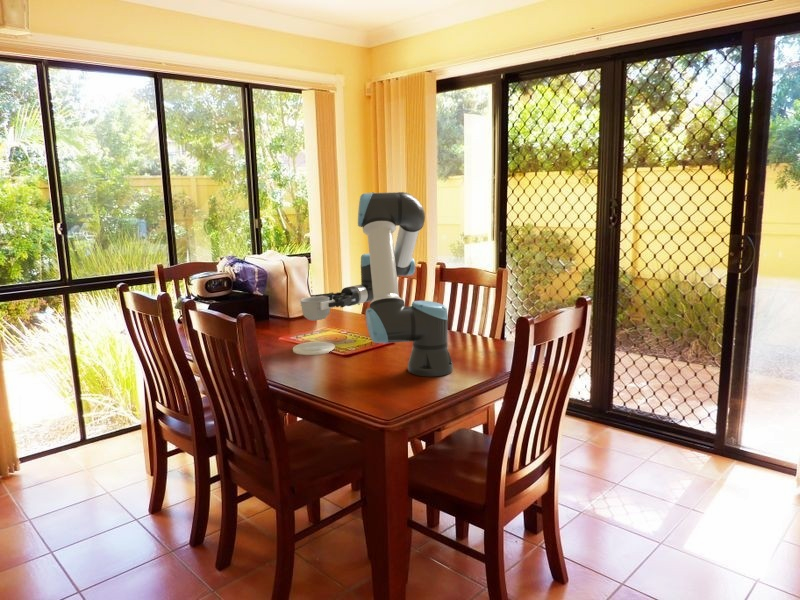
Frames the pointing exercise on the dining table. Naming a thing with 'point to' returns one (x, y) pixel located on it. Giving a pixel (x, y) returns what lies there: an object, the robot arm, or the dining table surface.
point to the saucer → (313, 348)
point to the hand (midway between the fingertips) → (310, 304)
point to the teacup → (314, 308)
